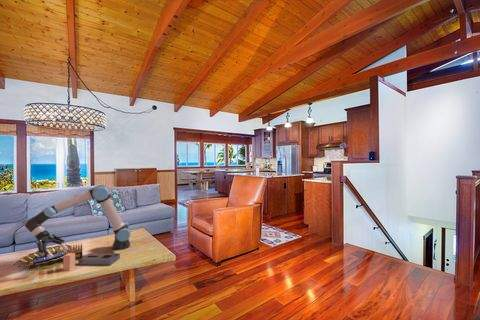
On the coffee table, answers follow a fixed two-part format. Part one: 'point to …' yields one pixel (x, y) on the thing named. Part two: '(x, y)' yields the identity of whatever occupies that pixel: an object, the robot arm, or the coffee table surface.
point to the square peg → (69, 261)
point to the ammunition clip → (79, 253)
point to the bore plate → (99, 259)
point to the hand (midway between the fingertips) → (59, 253)
